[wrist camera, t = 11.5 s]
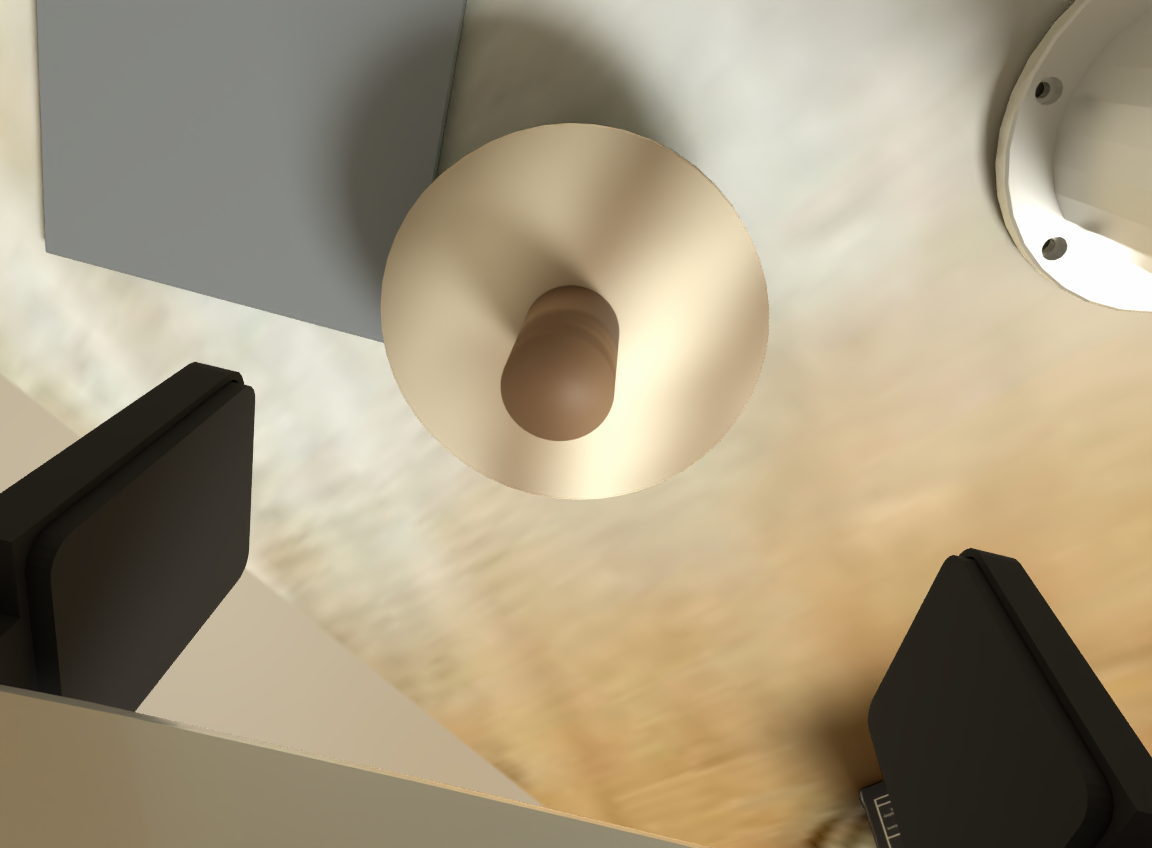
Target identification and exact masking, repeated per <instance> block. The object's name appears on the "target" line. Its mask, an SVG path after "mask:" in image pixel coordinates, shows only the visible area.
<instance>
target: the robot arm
mask: <svg viewBox="0 0 1152 848" xmlns="http://www.w3.org/2000/svg"><path fill="white" fill-rule="evenodd" d="M1040 82H1042V83H1043V84H1044V92H1043V93H1042V94H1041V95H1040V96H1039V97H1037V98H1036V97H1035V92H1036V87H1037V86H1038V85H1039V83H1040ZM995 167H996V183H997V197H998V201H999V204H1000V208H1001V211H1002V215H1003V219H1004V222H1005V226H1006V228H1007V230H1008V231H1009V233H1010V235H1011V237H1012V239H1013V241H1014V242H1015V244H1016V246H1017V248H1018V250H1019V251H1020V253H1021V254H1022V255H1023V256H1024V257H1025V258H1026V259H1027V261H1028V262H1029V263H1030V264H1031V265H1032V266H1033V267H1034V268H1035V269H1036V270H1037V272H1038V273H1039V274H1041V275H1042V276H1044V277H1045V278H1047V279H1048V280H1049V281H1051V282H1052V283H1054V284H1055V285H1057V286H1058V287H1060V288H1061V289H1063V290H1065V291H1066V292H1068V293H1070V294H1072V295H1074V296H1076V297H1078V298H1080V299H1082V300H1084V301H1086V302H1088V303H1092V304H1096V305H1099V306H1103V307H1106V308H1110V309H1113V310H1117V311H1129V312H1141V313H1152V0H1076V1H1075V2H1074V3H1073V4H1072V5H1071V6H1070V7H1069V8H1068V9H1067V10H1066V11H1065V12H1064V13H1063V14H1062V15H1061V16H1060V17H1059V18H1058V19H1057V20H1056V21H1055V22H1054V24H1053V25H1052V27H1051V28H1050V29H1049V31H1048V32H1047V33H1046V35H1045V36H1044V38H1043V39H1042V40H1041V42H1040V43H1039V45H1038V46H1037V47H1036V49H1035V50H1034V51H1033V53H1032V54H1031V56H1030V57H1029V59H1028V61H1027V63H1026V65H1025V67H1024V69H1023V71H1022V73H1021V75H1020V77H1019V79H1018V81H1017V83H1016V85H1015V87H1014V89H1013V91H1012V93H1011V96H1010V99H1009V102H1008V105H1007V108H1006V111H1005V115H1004V118H1003V121H1002V124H1001V127H1000V132H999V140H998V147H997V155H996V162H995ZM1048 239H1050V243H1049V245H1048V246H1047V248H1045V249H1043V250H1042V247H1043V245H1044V243H1045V242H1046V241H1047V240H1048ZM254 414H255V393H254V389H253V388H252V387H251V386H247V385H244V381H243V378H242V376H241V374H240V373H239V372H235V371H231V370H227V369H223V368H219V367H215V366H210V365H206V364H202V363H198V362H193V363H191V364H189V365H187V366H186V367H184V368H183V369H181V370H180V371H178V372H177V373H175V374H174V375H173V376H171V377H170V378H168V379H167V380H165V381H164V382H162V383H161V384H159V385H158V386H156V387H155V388H154V389H152V390H151V391H149V392H148V393H146V394H145V395H143V396H142V397H140V398H139V399H138V400H136V401H135V402H133V403H132V404H130V405H129V406H127V407H126V408H124V409H123V410H121V411H120V412H119V413H117V414H116V415H114V416H113V417H111V418H110V419H108V420H107V421H105V422H104V423H102V424H101V425H100V426H98V427H97V428H95V429H94V430H92V431H91V432H89V433H88V434H86V435H85V436H84V437H82V438H81V439H79V440H78V441H76V442H75V443H74V444H72V445H70V446H69V447H67V448H66V449H65V450H63V451H62V452H60V453H59V454H57V455H56V456H54V457H53V458H51V459H50V460H49V461H47V462H46V463H44V464H43V465H41V466H40V467H38V468H37V469H35V470H34V471H32V472H31V473H29V474H28V475H27V476H25V477H24V478H23V479H21V480H19V481H18V482H17V483H15V484H13V485H12V486H11V487H9V488H8V489H6V490H5V491H3V492H2V493H0V848H712V847H708V846H704V845H700V844H696V843H691V842H687V841H683V840H679V839H675V838H670V837H666V836H662V835H658V834H654V833H650V832H645V831H641V830H637V829H633V828H629V827H624V826H620V825H616V824H612V823H608V822H603V821H599V820H595V819H591V818H587V817H583V816H578V815H574V814H570V813H566V812H561V811H557V810H553V809H549V808H545V807H540V806H536V805H531V804H528V803H523V802H519V801H514V800H511V799H506V798H502V797H498V796H494V795H490V794H485V793H481V792H477V791H473V790H469V789H464V788H460V787H456V786H452V785H447V784H443V783H439V782H434V781H431V780H426V779H422V778H418V777H413V776H409V775H405V774H400V773H396V772H392V771H387V770H383V769H379V768H374V767H370V766H366V765H361V764H357V763H353V762H348V761H344V760H340V759H335V758H331V757H327V756H323V755H318V754H314V753H310V752H305V751H301V750H296V749H292V748H288V747H284V746H279V745H275V744H271V743H266V742H262V741H258V740H254V739H249V738H245V737H241V736H236V735H232V734H228V733H223V732H219V731H215V730H210V729H206V728H202V727H197V726H193V725H188V724H184V723H180V722H176V721H171V720H167V719H162V718H158V717H154V716H149V715H145V714H140V713H136V712H135V711H136V710H137V708H138V707H139V706H140V704H141V703H142V702H143V701H144V699H145V698H146V697H147V696H148V694H149V693H150V692H151V690H152V689H153V688H154V686H155V685H156V684H157V683H158V681H159V680H160V679H161V678H162V676H163V675H164V674H165V673H166V671H167V670H168V669H169V668H170V666H171V665H172V664H173V662H174V661H175V660H176V659H177V657H178V656H179V655H180V654H181V652H182V651H183V650H184V649H185V647H186V646H187V645H188V643H189V642H190V641H191V640H192V638H193V637H194V636H195V634H196V633H197V632H198V631H199V629H200V628H201V627H202V625H203V624H204V623H205V622H206V621H207V619H208V618H209V617H210V615H211V614H212V613H213V612H214V610H215V609H216V608H217V607H218V605H219V604H220V603H221V601H222V600H223V599H224V598H225V596H226V595H227V594H228V592H229V591H230V590H231V589H232V587H233V586H234V585H235V584H236V582H237V581H238V580H239V578H240V577H241V575H242V573H243V571H244V569H245V566H246V563H247V559H248V554H249V536H250V512H251V487H252V463H253V439H254ZM868 725H869V731H870V734H871V738H872V741H873V744H874V748H875V751H876V755H877V758H878V761H879V765H880V768H881V771H882V775H883V778H884V782H885V785H886V788H887V792H888V795H889V798H890V802H891V805H892V809H893V812H894V815H895V819H896V822H897V825H898V829H899V832H900V836H901V839H902V842H903V846H904V848H1152V757H1151V756H1150V754H1149V753H1148V751H1147V750H1146V748H1145V747H1144V746H1143V744H1142V743H1141V741H1140V740H1139V738H1138V737H1137V735H1136V734H1135V732H1134V731H1133V729H1132V728H1131V726H1130V725H1129V723H1128V722H1127V720H1126V719H1125V717H1124V716H1123V715H1122V713H1121V712H1120V710H1119V709H1118V707H1117V706H1116V704H1115V703H1114V701H1113V700H1112V698H1111V697H1110V695H1109V694H1108V692H1107V691H1106V689H1105V688H1104V686H1103V685H1102V684H1101V682H1100V681H1099V679H1098V678H1097V676H1096V675H1095V673H1094V672H1093V670H1092V669H1091V667H1090V666H1089V664H1088V663H1087V661H1086V660H1085V658H1084V657H1083V655H1082V654H1081V653H1080V651H1079V650H1078V648H1077V647H1076V645H1075V644H1074V642H1073V641H1072V639H1071V638H1070V636H1069V635H1068V633H1067V632H1066V630H1065V629H1064V627H1063V626H1062V624H1061V623H1060V622H1059V620H1058V619H1057V617H1056V616H1055V614H1054V613H1053V611H1052V610H1051V608H1050V607H1049V605H1048V604H1047V602H1046V601H1045V599H1044V598H1043V596H1042V595H1041V593H1040V592H1039V591H1038V589H1037V588H1036V586H1035V585H1034V583H1033V582H1032V580H1031V579H1030V577H1029V576H1028V574H1027V573H1026V571H1025V570H1024V568H1023V567H1022V565H1021V564H1020V563H1019V562H1018V561H1017V560H1016V559H1014V558H1010V557H1006V556H1002V555H998V554H993V553H989V552H985V551H981V550H977V549H973V548H969V549H966V550H964V551H963V552H962V553H961V554H960V555H959V556H956V555H952V556H949V557H948V558H947V559H946V560H945V562H944V563H943V565H942V567H941V569H940V571H939V572H938V574H937V576H936V578H935V580H934V582H933V584H932V586H931V588H930V590H929V592H928V594H927V596H926V598H925V599H924V601H923V603H922V605H921V607H920V609H919V611H918V613H917V615H916V617H915V619H914V621H913V623H912V625H911V627H910V628H909V630H908V632H907V634H906V636H905V638H904V640H903V642H902V644H901V646H900V648H899V650H898V652H897V654H896V655H895V657H894V659H893V661H892V663H891V665H890V667H889V669H888V671H887V673H886V675H885V677H884V679H883V681H882V682H881V684H880V686H879V688H878V690H877V692H876V694H875V696H874V698H873V700H872V702H871V705H870V709H869V716H868Z"/></svg>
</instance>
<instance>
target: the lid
mask: <svg viewBox="0 0 1152 848" xmlns="http://www.w3.org/2000/svg"><path fill="white" fill-rule="evenodd" d="M380 307H381V324H382V334H383V339H384V344H385V349H386V354H387V357H388V360H389V363H390V366H391V369H392V372H393V375H394V378H395V380H396V382H397V384H398V386H399V388H400V390H401V392H402V394H403V396H404V398H405V400H406V401H407V403H408V405H409V406H410V408H411V409H412V411H413V412H414V414H415V416H416V417H417V418H418V420H419V421H420V422H421V423H422V424H423V426H424V427H425V428H426V429H427V430H428V432H429V433H430V434H431V435H432V436H433V437H434V438H435V439H436V440H437V441H438V442H439V443H440V444H441V445H442V446H443V447H444V448H445V449H446V450H447V451H448V452H450V453H451V454H452V455H454V456H455V457H456V458H458V459H459V460H460V461H462V462H463V463H464V464H466V465H467V466H469V467H471V468H472V469H474V470H476V471H477V472H479V473H481V474H482V475H484V476H486V477H488V478H490V479H492V480H495V481H497V482H499V483H501V484H504V485H506V486H508V487H511V488H514V489H518V490H521V491H524V492H527V493H531V494H536V495H541V496H546V497H551V498H562V499H574V500H578V499H600V498H607V497H614V496H620V495H624V494H628V493H632V492H635V491H639V490H643V489H645V488H648V487H650V486H653V485H655V484H658V483H660V482H663V481H665V480H667V479H669V478H671V477H672V476H674V475H676V474H678V473H680V472H681V471H683V470H685V469H686V468H688V467H689V466H691V465H692V464H693V463H695V462H696V461H697V460H699V459H700V458H702V457H703V456H704V455H705V454H706V453H707V452H708V451H710V450H711V449H712V448H713V447H714V446H715V445H716V444H717V443H718V442H719V441H720V440H721V439H722V438H723V437H724V435H725V434H726V433H727V432H728V431H729V429H730V428H731V427H732V426H733V425H734V423H735V422H736V420H737V419H738V417H739V416H740V414H741V413H742V411H743V409H744V408H745V406H746V405H747V403H748V401H749V399H750V397H751V395H752V392H753V390H754V388H755V386H756V384H757V381H758V378H759V375H760V372H761V369H762V365H763V362H764V359H765V353H766V347H767V341H768V334H769V304H768V295H767V287H766V281H765V278H764V274H763V270H762V266H761V263H760V259H759V256H758V254H757V252H756V249H755V247H754V245H753V242H752V240H751V238H750V235H749V233H748V231H747V229H746V228H745V226H744V224H743V223H742V221H741V219H740V218H739V216H738V214H737V213H736V211H735V209H734V208H733V206H732V205H731V203H730V202H729V201H728V200H727V198H726V197H725V196H724V195H723V194H722V192H721V191H720V190H719V189H718V187H717V186H716V185H715V184H714V183H713V182H712V181H711V180H710V179H709V178H708V177H707V176H705V175H704V174H703V173H702V172H701V171H700V170H699V169H698V168H697V167H696V166H694V165H693V164H691V163H690V162H689V161H687V160H686V159H684V158H683V157H682V156H680V155H679V154H677V153H676V152H674V151H673V150H671V149H669V148H667V147H665V146H663V145H661V144H659V143H657V142H655V141H653V140H651V139H649V138H646V137H643V136H640V135H637V134H635V133H632V132H629V131H626V130H622V129H617V128H612V127H607V126H602V125H597V124H580V123H563V124H551V125H542V126H537V127H533V128H528V129H524V130H520V131H516V132H513V133H511V134H508V135H505V136H503V137H500V138H497V139H495V140H492V141H490V142H489V143H487V144H485V145H483V146H481V147H480V148H478V149H476V150H474V151H472V152H471V153H469V154H467V155H466V156H464V157H463V158H461V159H460V160H459V161H457V162H456V163H455V164H453V165H452V166H451V167H449V168H448V169H447V170H445V171H444V172H443V173H442V174H441V175H440V176H439V177H438V178H437V179H436V180H435V181H434V182H433V183H432V184H431V185H430V186H429V187H428V188H427V189H426V190H425V191H424V192H423V193H422V194H421V196H420V197H419V198H418V200H417V201H416V203H415V204H414V205H413V207H412V208H411V209H410V211H409V212H408V214H407V216H406V217H405V219H404V221H403V223H402V225H401V227H400V229H399V230H398V232H397V234H396V236H395V239H394V242H393V245H392V247H391V250H390V253H389V256H388V258H387V263H386V267H385V272H384V277H383V281H382V293H381V306H380Z"/></svg>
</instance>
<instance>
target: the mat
mask: <svg viewBox="0 0 1152 848" xmlns="http://www.w3.org/2000/svg"><path fill="white" fill-rule="evenodd" d="M466 1H467V0H36V3H37V30H38V57H39V84H40V111H41V139H42V166H43V193H44V220H45V247H46V252H47V253H50V254H54V255H58V256H62V257H65V258H69V259H73V260H77V261H80V262H84V263H88V264H91V265H95V266H99V267H103V268H106V269H110V270H114V271H118V272H121V273H125V274H129V275H133V276H136V277H140V278H144V279H148V280H151V281H155V282H159V283H162V284H166V285H170V286H174V287H177V288H181V289H185V290H189V291H192V292H196V293H200V294H204V295H207V296H211V297H215V298H218V299H222V300H226V301H230V302H233V303H237V304H241V305H245V306H248V307H252V308H256V309H260V310H263V311H267V312H271V313H275V314H278V315H282V316H286V317H289V318H293V319H297V320H301V321H304V322H308V323H312V324H316V325H319V326H323V327H327V328H331V329H334V330H338V331H342V332H346V333H349V334H353V335H357V336H360V337H364V338H368V339H372V340H375V341H379V342H383V343H384V339H383V334H382V324H381V307H380V306H381V293H382V281H383V277H384V272H385V267H386V263H387V258H388V256H389V253H390V250H391V247H392V245H393V242H394V239H395V236H396V234H397V232H398V230H399V229H400V227H401V225H402V223H403V221H404V219H405V217H406V216H407V214H408V212H409V211H410V209H411V208H412V207H413V205H414V204H415V203H416V201H417V200H418V198H419V197H420V196H421V194H422V193H423V192H424V191H425V190H426V189H427V188H428V187H429V186H430V185H431V184H432V183H433V182H434V181H435V179H436V173H437V167H438V162H439V156H440V150H441V144H442V139H443V133H444V127H445V121H446V116H447V110H448V104H449V98H450V93H451V87H452V81H453V75H454V70H455V64H456V58H457V52H458V47H459V41H460V35H461V29H462V24H463V18H464V12H465V6H466Z"/></svg>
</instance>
